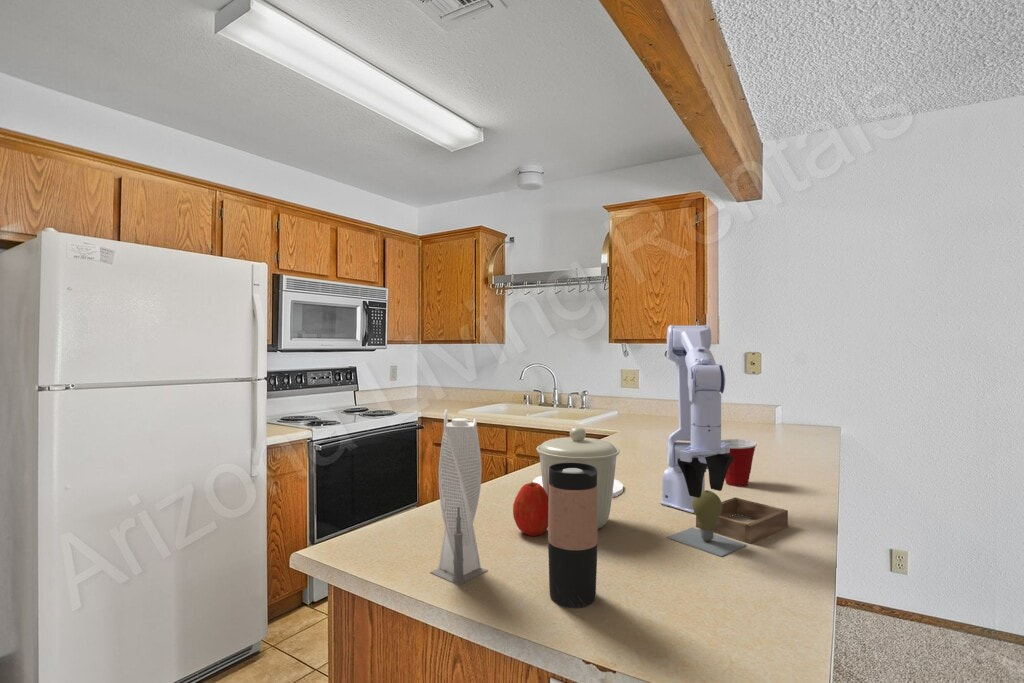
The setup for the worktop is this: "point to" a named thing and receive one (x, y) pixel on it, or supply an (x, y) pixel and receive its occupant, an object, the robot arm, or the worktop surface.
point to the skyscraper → (459, 500)
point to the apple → (531, 509)
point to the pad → (714, 546)
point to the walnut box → (750, 532)
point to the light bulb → (707, 513)
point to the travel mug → (572, 534)
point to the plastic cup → (740, 461)
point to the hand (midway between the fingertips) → (705, 493)
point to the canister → (586, 453)
